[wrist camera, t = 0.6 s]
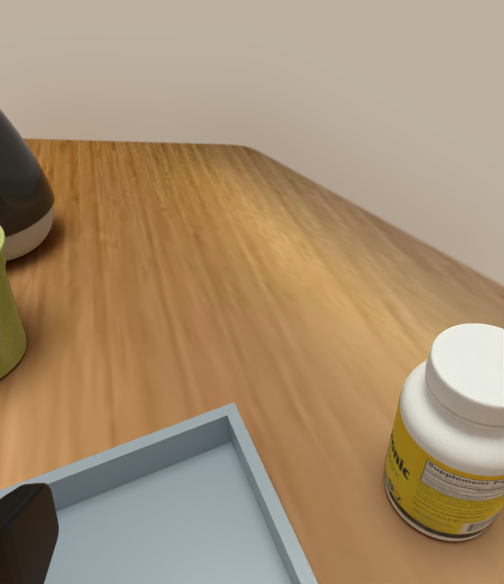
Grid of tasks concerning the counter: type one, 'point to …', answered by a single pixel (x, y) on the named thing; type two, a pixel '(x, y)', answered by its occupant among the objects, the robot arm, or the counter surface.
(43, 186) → the dark grey egg-shaped device
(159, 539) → the tray
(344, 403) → the counter surface
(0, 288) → the plant pot
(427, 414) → the supplement bottle
